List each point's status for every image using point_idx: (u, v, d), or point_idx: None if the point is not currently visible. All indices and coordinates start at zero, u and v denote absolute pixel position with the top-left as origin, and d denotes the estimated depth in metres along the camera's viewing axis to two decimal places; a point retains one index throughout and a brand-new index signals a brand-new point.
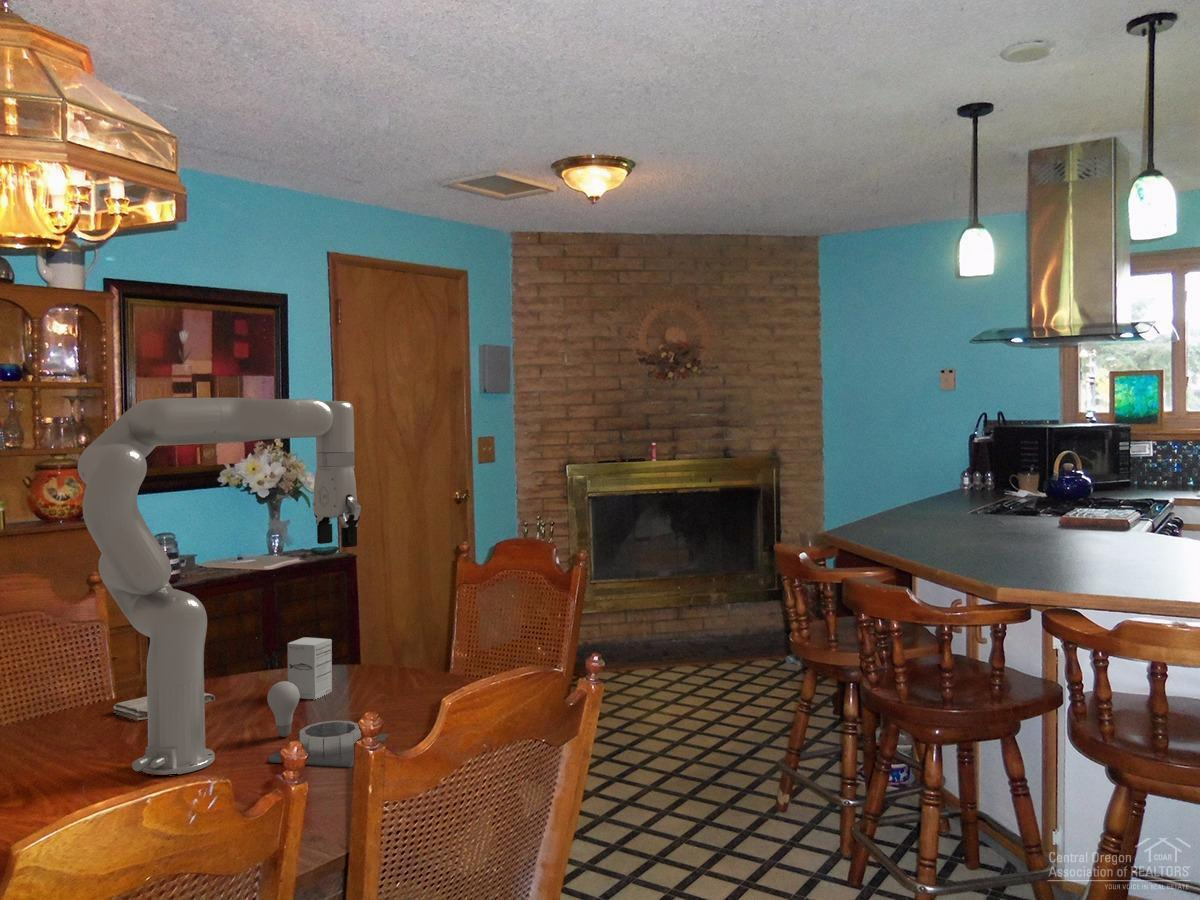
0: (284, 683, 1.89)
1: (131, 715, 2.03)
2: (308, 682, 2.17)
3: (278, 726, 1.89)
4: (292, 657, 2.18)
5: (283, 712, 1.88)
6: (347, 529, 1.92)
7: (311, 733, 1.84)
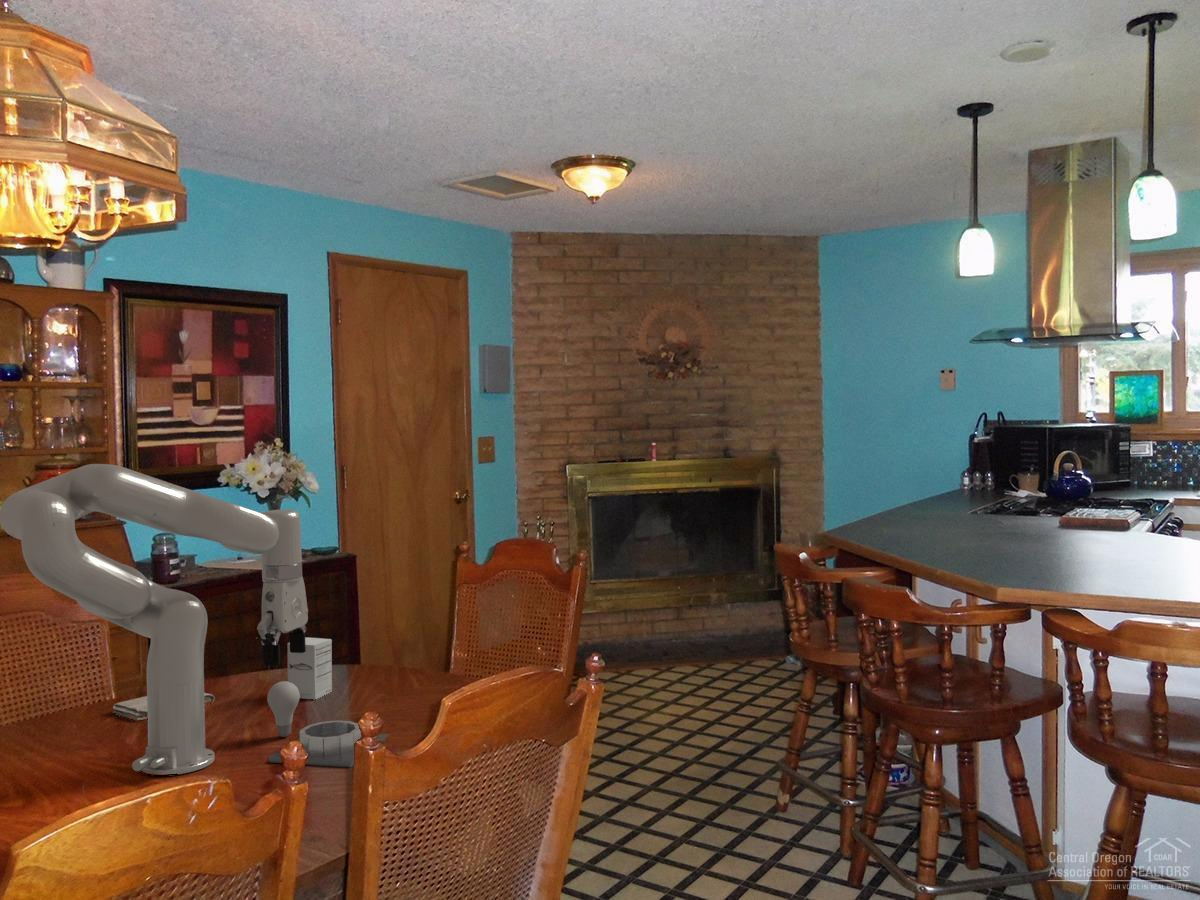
0: (284, 683, 1.89)
1: (131, 715, 2.03)
2: (308, 682, 2.17)
3: (278, 726, 1.89)
4: (292, 657, 2.18)
5: (283, 712, 1.88)
6: None
7: (311, 733, 1.84)
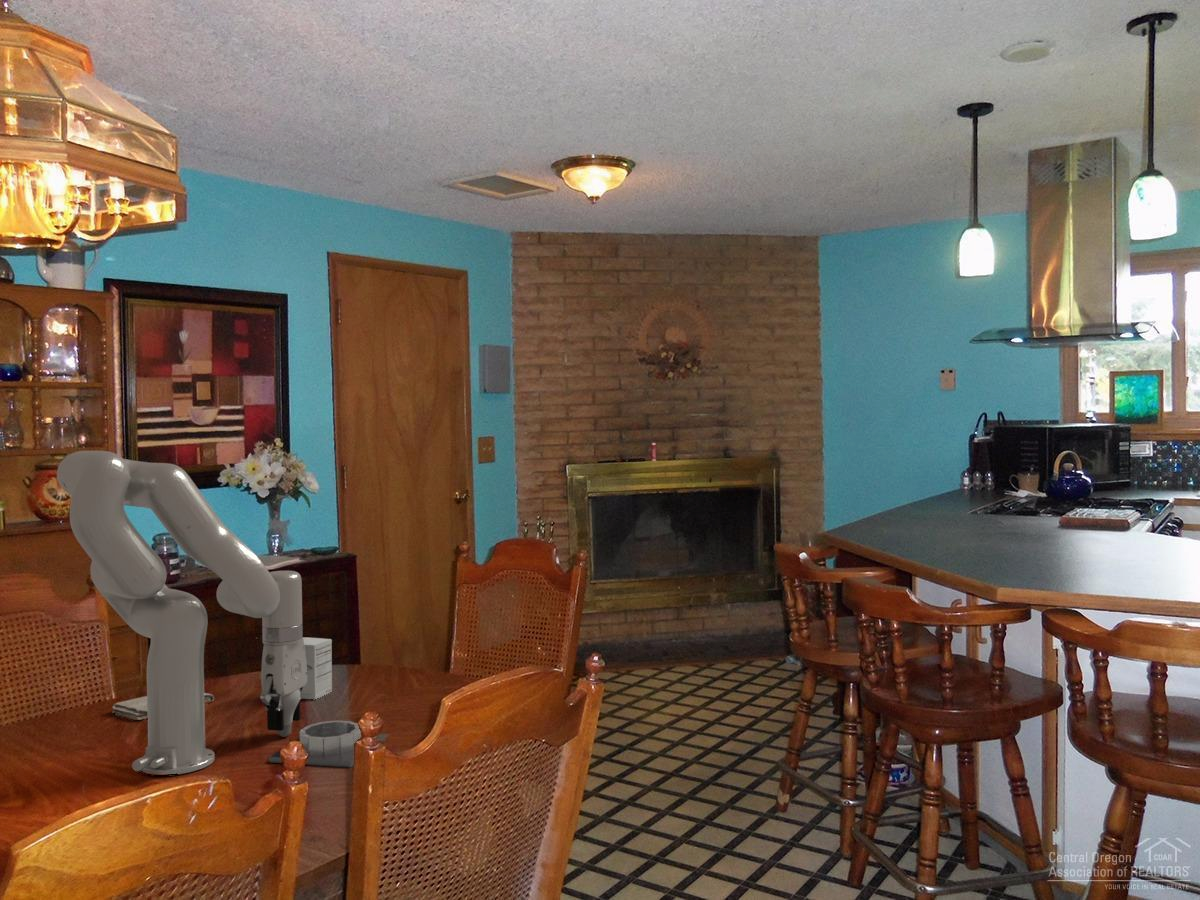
0: None
1: (131, 715, 2.03)
2: (308, 682, 2.17)
3: None
4: None
5: None
6: None
7: (311, 733, 1.84)
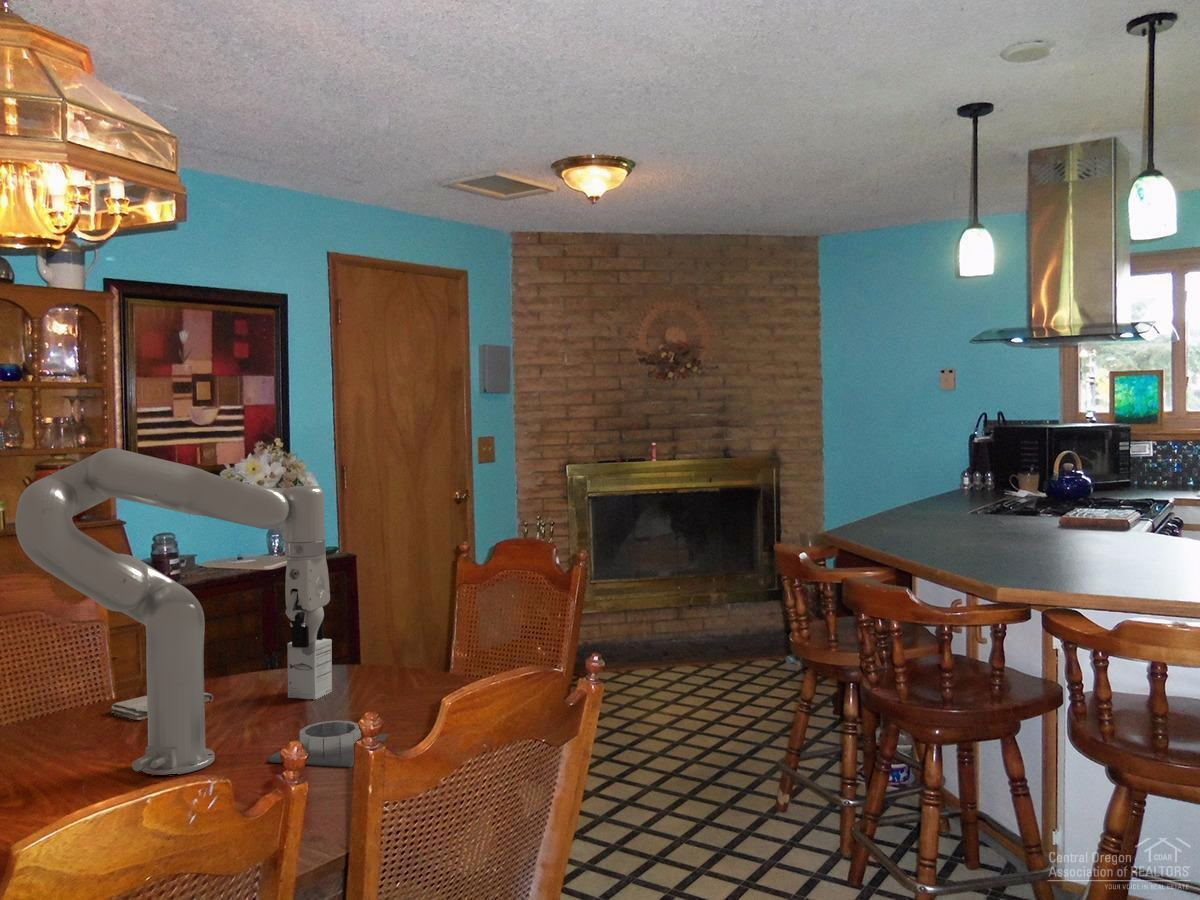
0: None
1: (130, 715, 2.03)
2: (308, 682, 2.17)
3: None
4: (292, 657, 2.18)
5: None
6: None
7: (311, 733, 1.84)
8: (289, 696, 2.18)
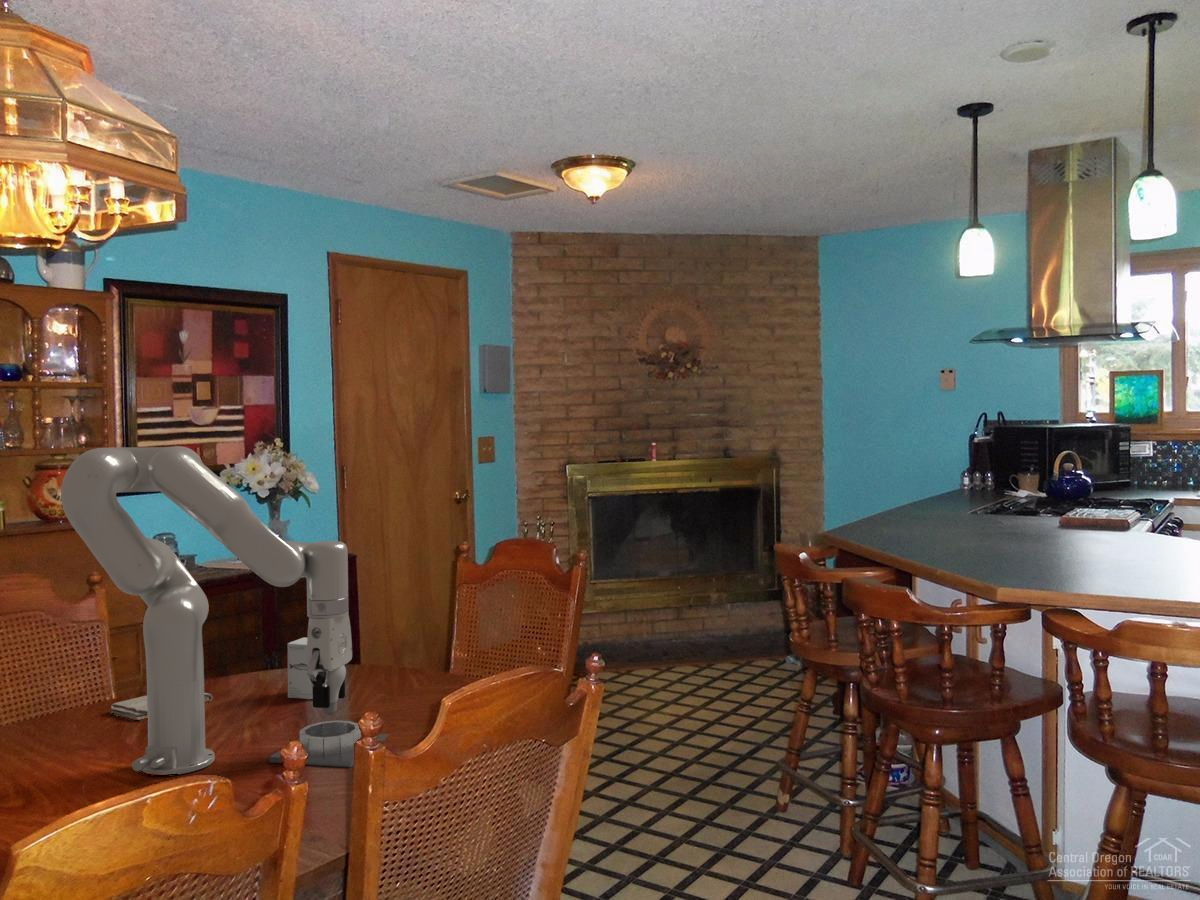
0: None
1: (130, 714, 2.03)
2: (308, 682, 2.17)
3: None
4: (292, 657, 2.18)
5: None
6: None
7: (311, 733, 1.84)
8: (289, 696, 2.18)
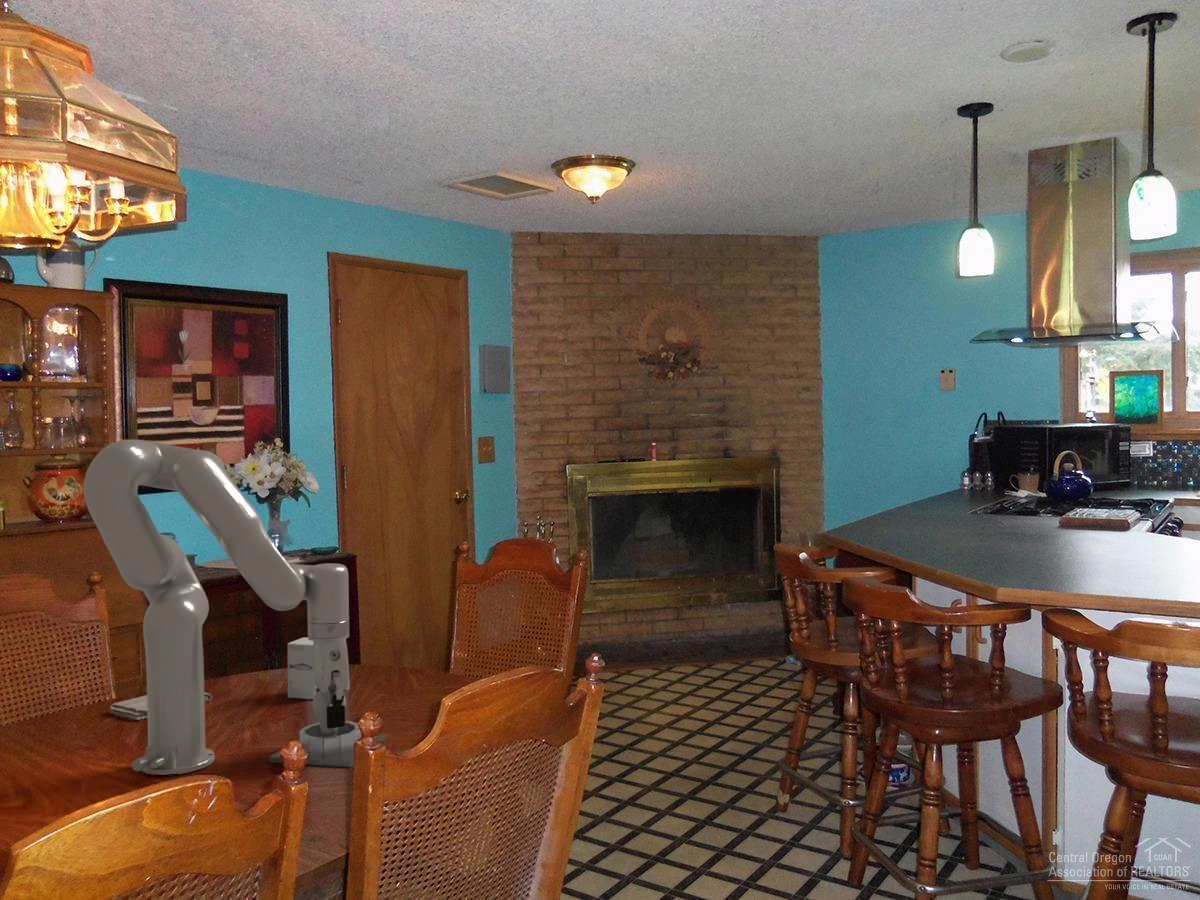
0: None
1: (130, 715, 2.03)
2: (308, 682, 2.17)
3: (328, 734, 1.81)
4: (292, 657, 2.18)
5: None
6: None
7: (311, 733, 1.84)
8: (289, 696, 2.18)
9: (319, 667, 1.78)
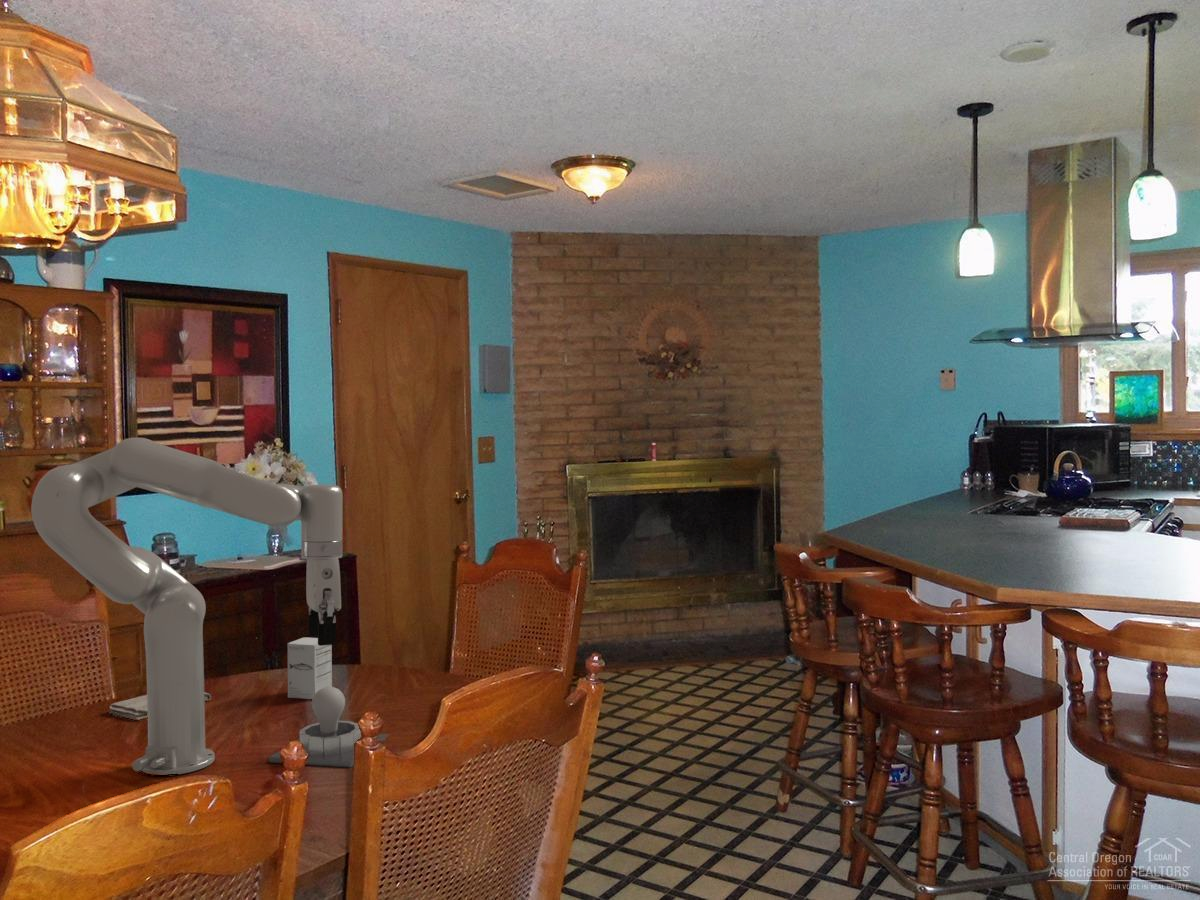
0: (332, 688, 1.81)
1: (129, 715, 2.03)
2: (308, 682, 2.17)
3: (327, 734, 1.81)
4: (292, 657, 2.18)
5: (336, 717, 1.81)
6: None
7: (311, 733, 1.84)
8: (289, 696, 2.18)
9: (311, 585, 1.79)
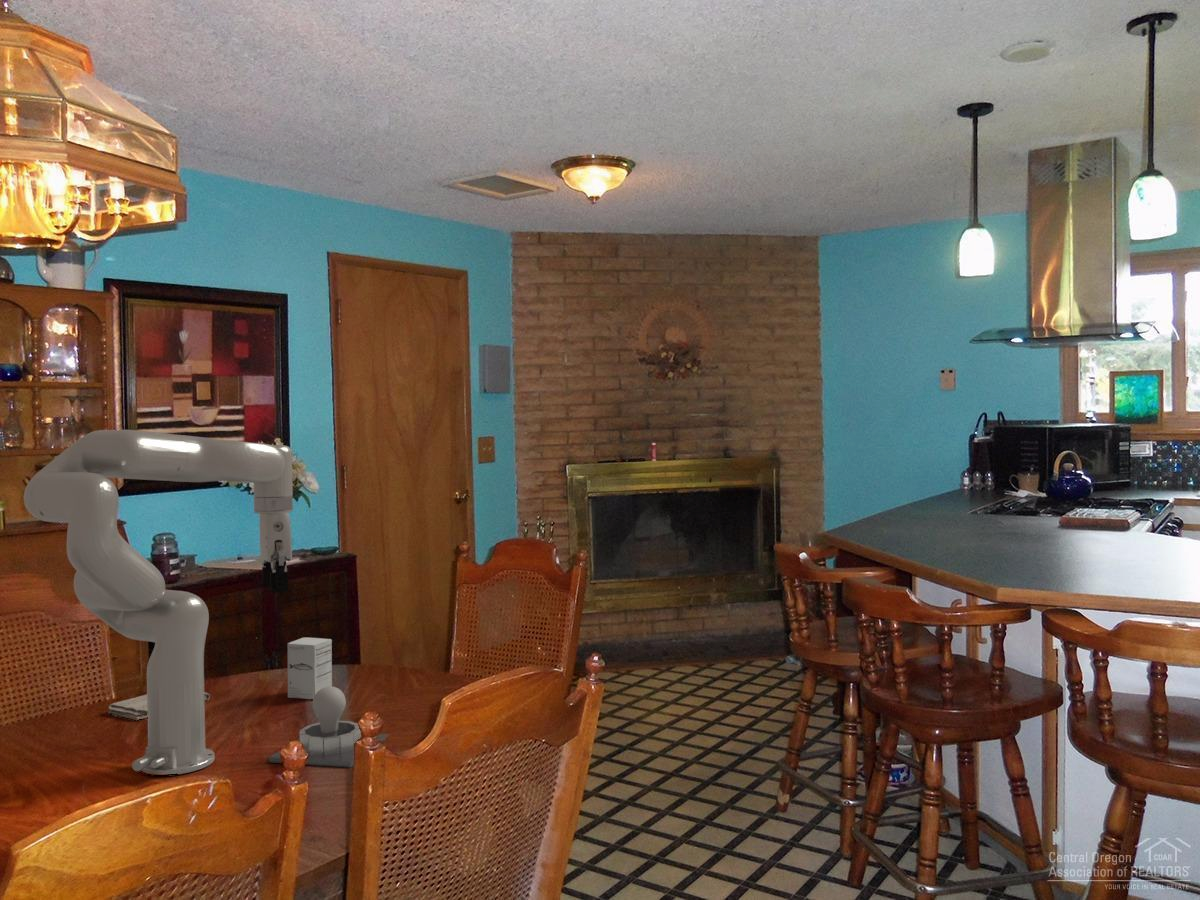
0: (333, 688, 1.82)
1: (129, 714, 2.03)
2: (308, 682, 2.17)
3: (328, 734, 1.81)
4: (292, 657, 2.18)
5: (337, 717, 1.81)
6: None
7: (311, 733, 1.84)
8: (289, 696, 2.18)
9: (264, 538, 1.93)
